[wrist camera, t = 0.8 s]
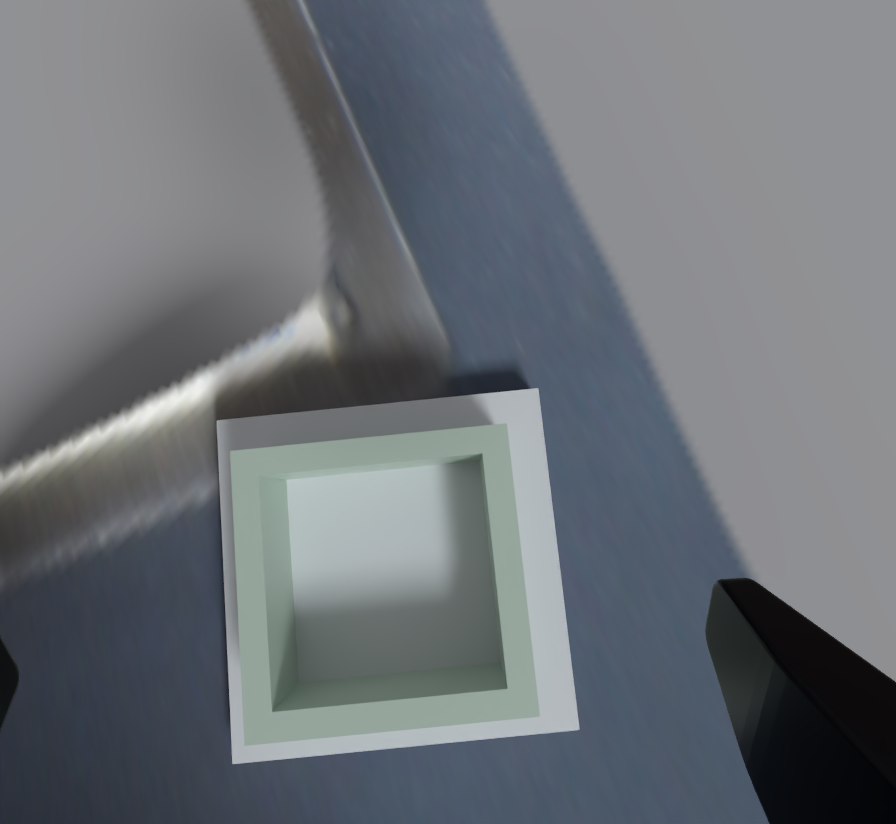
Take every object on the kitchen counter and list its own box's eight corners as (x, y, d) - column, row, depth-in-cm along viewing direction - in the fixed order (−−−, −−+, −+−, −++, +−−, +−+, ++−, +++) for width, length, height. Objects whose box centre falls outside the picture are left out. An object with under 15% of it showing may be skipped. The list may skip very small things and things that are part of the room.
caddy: (572, 717, 22) (599, 767, 17) (245, 749, 22) (193, 808, 17) (534, 394, 23) (550, 369, 19) (229, 424, 23) (178, 406, 19)
